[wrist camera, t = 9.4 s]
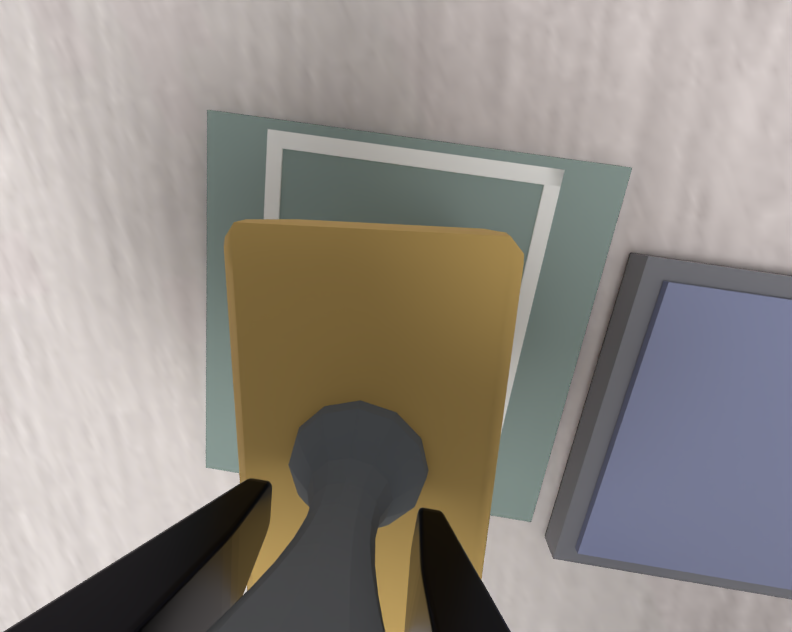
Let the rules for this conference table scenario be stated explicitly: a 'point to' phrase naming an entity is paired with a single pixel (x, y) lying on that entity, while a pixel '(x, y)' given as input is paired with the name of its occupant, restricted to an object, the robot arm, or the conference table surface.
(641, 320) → the ink pad
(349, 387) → the rubber stamp
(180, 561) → the robot arm
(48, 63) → the conference table surface
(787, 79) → the conference table surface
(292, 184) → the marking board
